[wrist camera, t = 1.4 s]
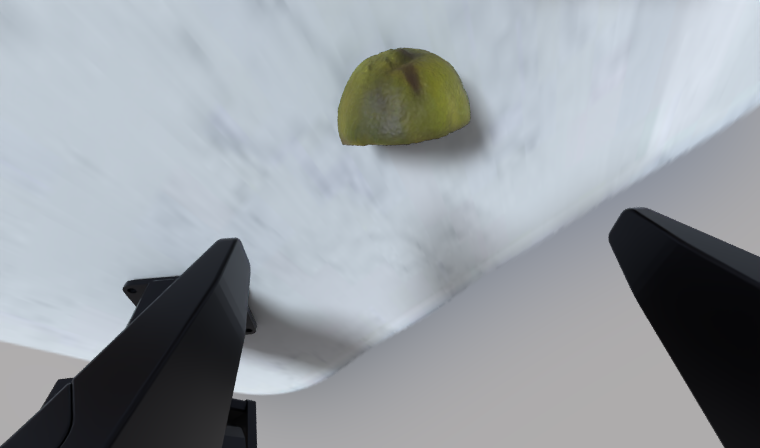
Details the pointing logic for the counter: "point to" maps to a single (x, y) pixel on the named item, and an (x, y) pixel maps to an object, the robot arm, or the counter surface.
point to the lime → (402, 100)
